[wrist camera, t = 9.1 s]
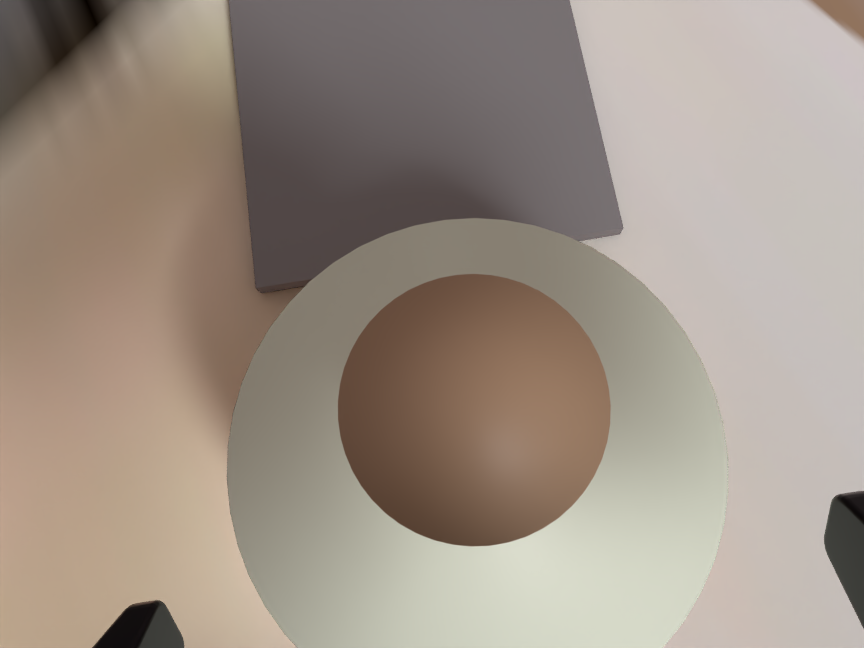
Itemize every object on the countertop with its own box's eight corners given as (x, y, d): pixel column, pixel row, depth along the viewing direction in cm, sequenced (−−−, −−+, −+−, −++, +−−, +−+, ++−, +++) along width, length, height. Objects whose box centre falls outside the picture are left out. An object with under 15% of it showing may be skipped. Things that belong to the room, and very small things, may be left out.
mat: (619, 234, 24) (623, 227, 23) (261, 293, 24) (255, 288, 23) (549, -65, 27) (550, -78, 26) (232, -11, 27) (226, -22, 26)
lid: (468, 840, 15) (461, 1450, 6) (144, 446, 18) (-250, 391, 8) (820, 460, 17) (1301, 417, 7) (475, 146, 19) (478, -205, 10)
